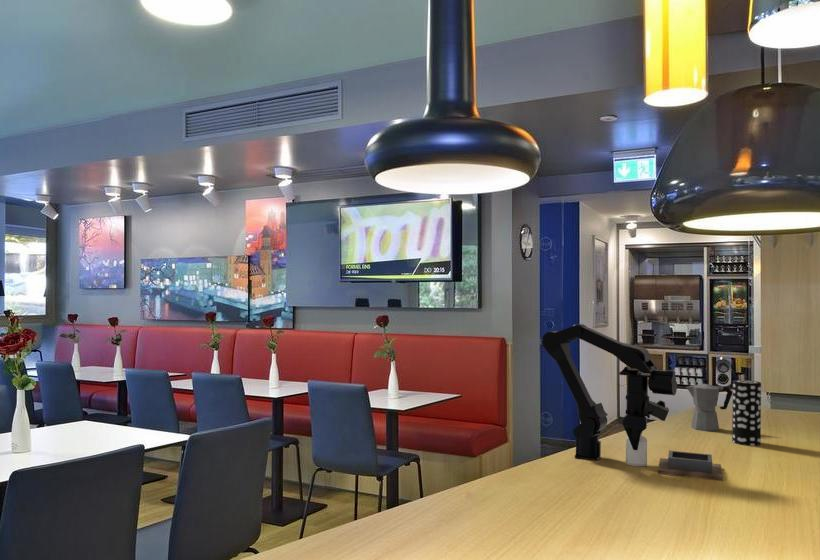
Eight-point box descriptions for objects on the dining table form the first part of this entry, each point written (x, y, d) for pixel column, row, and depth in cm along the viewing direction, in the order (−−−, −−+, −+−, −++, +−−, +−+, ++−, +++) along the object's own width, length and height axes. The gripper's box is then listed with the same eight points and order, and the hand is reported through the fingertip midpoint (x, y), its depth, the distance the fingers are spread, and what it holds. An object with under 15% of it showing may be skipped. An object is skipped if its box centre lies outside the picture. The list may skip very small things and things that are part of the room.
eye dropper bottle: (642, 468, 187) (642, 424, 187) (623, 464, 191) (623, 421, 191) (649, 465, 190) (649, 422, 190) (630, 461, 194) (631, 419, 194)
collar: (667, 468, 183) (668, 457, 183) (669, 460, 191) (669, 450, 191) (712, 473, 179) (712, 462, 179) (711, 465, 187) (711, 454, 187)
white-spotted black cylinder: (765, 446, 217) (766, 383, 217) (739, 445, 217) (740, 383, 217) (752, 440, 225) (753, 380, 225) (727, 439, 225) (728, 379, 226)
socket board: (657, 473, 182) (657, 469, 182) (660, 461, 195) (660, 458, 195) (722, 480, 176) (723, 476, 176) (720, 467, 189) (720, 464, 189)
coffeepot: (685, 429, 241) (686, 379, 241) (684, 424, 250) (685, 376, 250) (733, 433, 236) (733, 381, 236) (730, 428, 245) (731, 378, 245)
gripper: (666, 398, 179) (665, 457, 179) (668, 389, 196) (668, 443, 196) (622, 395, 183) (621, 453, 183) (628, 386, 201) (628, 439, 200)
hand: (636, 447), depth 191 cm, fingers open, 8 cm apart
